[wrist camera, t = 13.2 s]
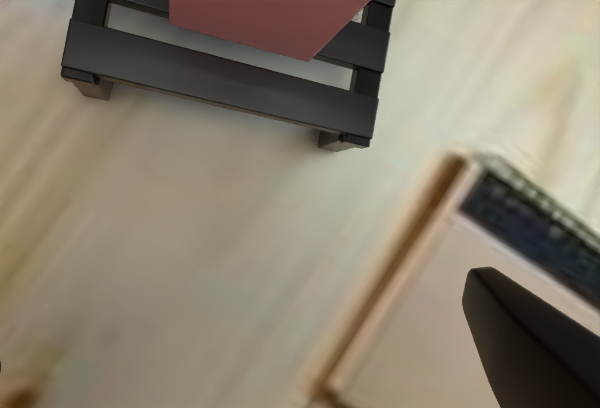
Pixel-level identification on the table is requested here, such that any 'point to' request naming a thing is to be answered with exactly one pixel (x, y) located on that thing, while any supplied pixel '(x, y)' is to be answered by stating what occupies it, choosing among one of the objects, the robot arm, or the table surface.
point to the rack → (234, 72)
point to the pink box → (268, 22)
